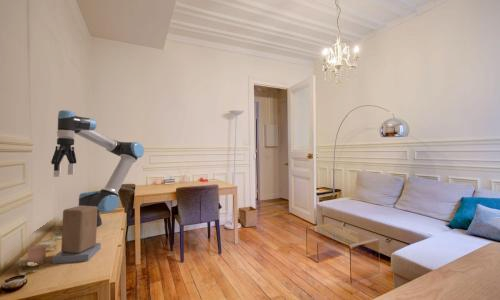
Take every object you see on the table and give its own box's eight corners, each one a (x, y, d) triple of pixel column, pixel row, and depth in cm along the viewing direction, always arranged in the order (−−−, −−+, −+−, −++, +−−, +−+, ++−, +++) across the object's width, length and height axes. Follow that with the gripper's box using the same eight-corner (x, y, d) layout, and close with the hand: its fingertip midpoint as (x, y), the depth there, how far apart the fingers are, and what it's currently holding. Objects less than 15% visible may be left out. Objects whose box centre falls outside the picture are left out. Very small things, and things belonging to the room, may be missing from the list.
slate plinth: (69, 250, 113) (69, 244, 113) (100, 248, 116) (100, 242, 116) (52, 263, 99) (52, 257, 99) (88, 260, 102) (88, 254, 103)
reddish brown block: (33, 260, 102) (33, 245, 102) (48, 259, 103) (49, 244, 103) (23, 267, 96) (24, 250, 96) (40, 265, 97) (40, 249, 97)
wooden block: (79, 254, 102) (80, 210, 103) (60, 252, 104) (62, 209, 104) (96, 245, 112) (98, 206, 113) (79, 244, 113) (81, 205, 114)
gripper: (70, 139, 137) (68, 173, 137) (43, 135, 113) (41, 177, 113) (84, 139, 139) (82, 173, 139) (60, 136, 115) (58, 177, 114)
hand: (64, 175), depth 126 cm, fingers open, 13 cm apart
